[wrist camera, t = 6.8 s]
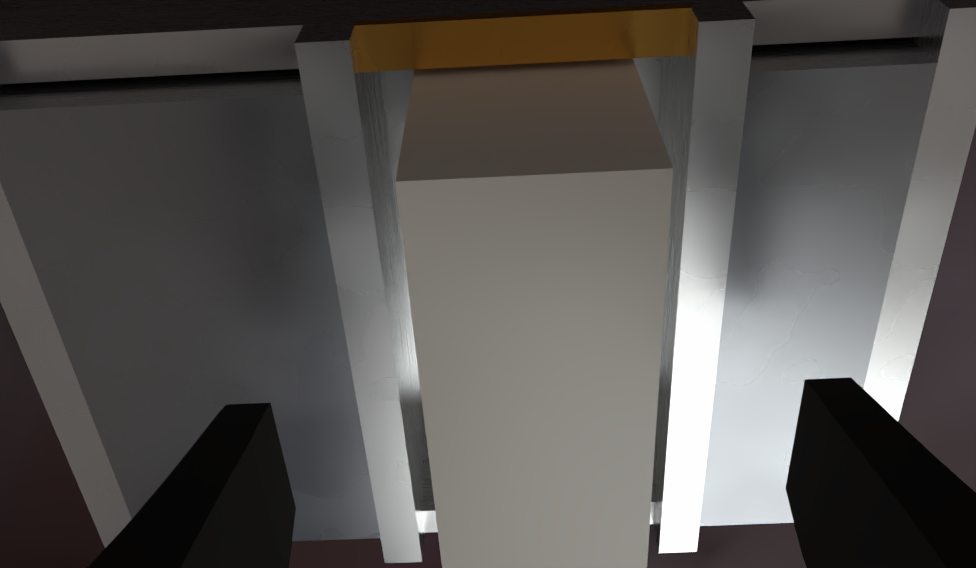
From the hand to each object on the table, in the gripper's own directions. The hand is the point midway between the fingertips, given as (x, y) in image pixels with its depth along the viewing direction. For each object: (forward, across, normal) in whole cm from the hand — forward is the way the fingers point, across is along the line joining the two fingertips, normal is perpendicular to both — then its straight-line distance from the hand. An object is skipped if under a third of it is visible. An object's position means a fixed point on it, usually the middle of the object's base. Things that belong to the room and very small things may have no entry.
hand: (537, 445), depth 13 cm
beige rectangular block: (+5, 0, -1) cm, 5 cm away
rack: (+5, +1, 0) cm, 5 cm away
